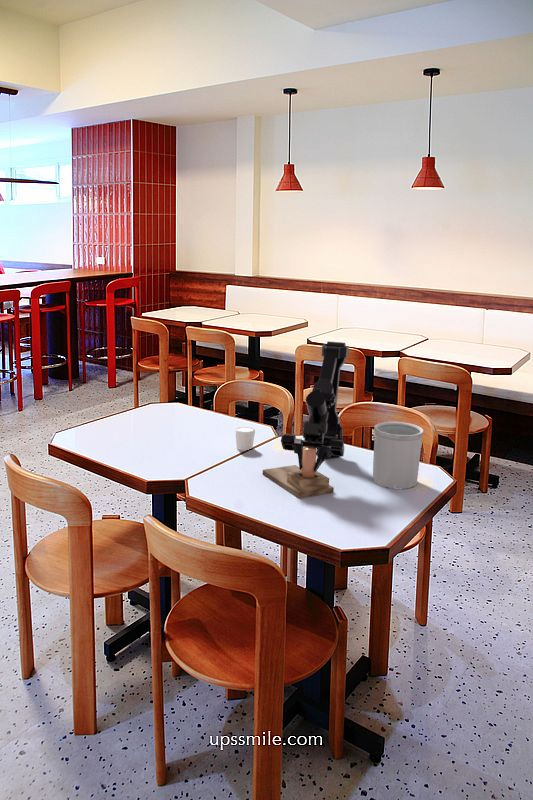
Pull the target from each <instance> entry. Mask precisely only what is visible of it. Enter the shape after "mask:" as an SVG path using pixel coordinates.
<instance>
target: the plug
mask: <svg viewBox="0 0 533 800" xmlns="http://www.w3.org/2000/svg"><path fill="white" fill-rule="evenodd" d="M316 452H317V448H314V447H303V457H302V475H301V477H303V478H305V479H309V478H315V472H314V468H315V464H316V460H317V454H316Z"/></svg>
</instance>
